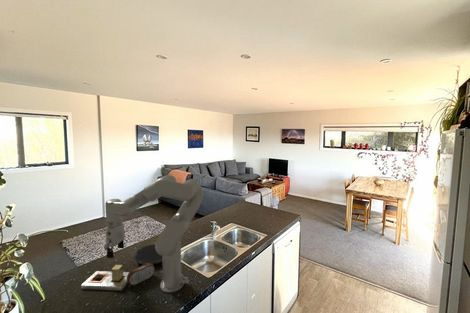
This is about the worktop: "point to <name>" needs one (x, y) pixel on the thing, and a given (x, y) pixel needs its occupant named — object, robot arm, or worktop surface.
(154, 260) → the bowl
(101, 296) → the worktop surface
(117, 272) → the brass peg
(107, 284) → the rail plate
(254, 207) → the worktop surface
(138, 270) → the tin
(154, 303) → the worktop surface
